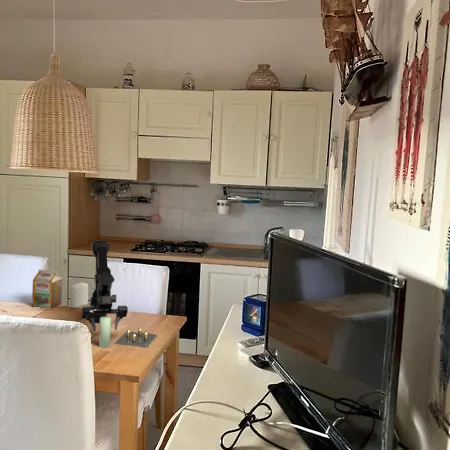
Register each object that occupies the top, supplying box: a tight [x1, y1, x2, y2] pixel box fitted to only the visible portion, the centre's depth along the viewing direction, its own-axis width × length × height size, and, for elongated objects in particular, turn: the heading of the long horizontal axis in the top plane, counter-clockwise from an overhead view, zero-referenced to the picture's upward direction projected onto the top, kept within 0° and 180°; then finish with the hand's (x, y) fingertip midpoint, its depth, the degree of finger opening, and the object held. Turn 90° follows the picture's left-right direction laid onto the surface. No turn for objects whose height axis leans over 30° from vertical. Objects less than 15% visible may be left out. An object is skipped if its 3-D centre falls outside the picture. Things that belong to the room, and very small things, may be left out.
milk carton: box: [31, 269, 63, 310], centre depth 250 cm, size 11×11×19 cm
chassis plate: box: [115, 327, 158, 348], centre depth 208 cm, size 14×14×4 cm
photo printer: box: [69, 282, 89, 309], centre depth 254 cm, size 10×4×12 cm, turn 148°
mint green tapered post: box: [98, 315, 112, 349], centre depth 199 cm, size 4×4×12 cm
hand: (105, 330), depth 197 cm, fingers open, 8 cm apart
